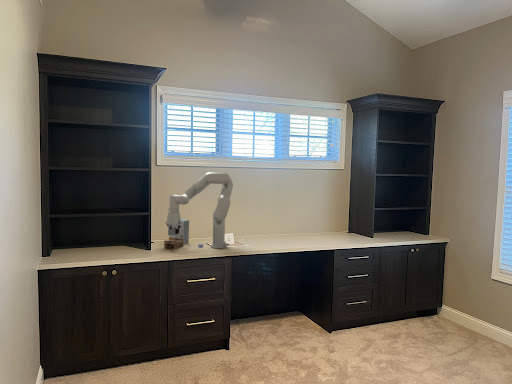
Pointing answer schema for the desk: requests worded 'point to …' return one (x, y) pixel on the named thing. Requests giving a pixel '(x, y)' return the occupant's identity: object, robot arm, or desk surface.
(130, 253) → the desk surface
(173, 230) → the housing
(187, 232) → the hard drive box
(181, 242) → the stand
